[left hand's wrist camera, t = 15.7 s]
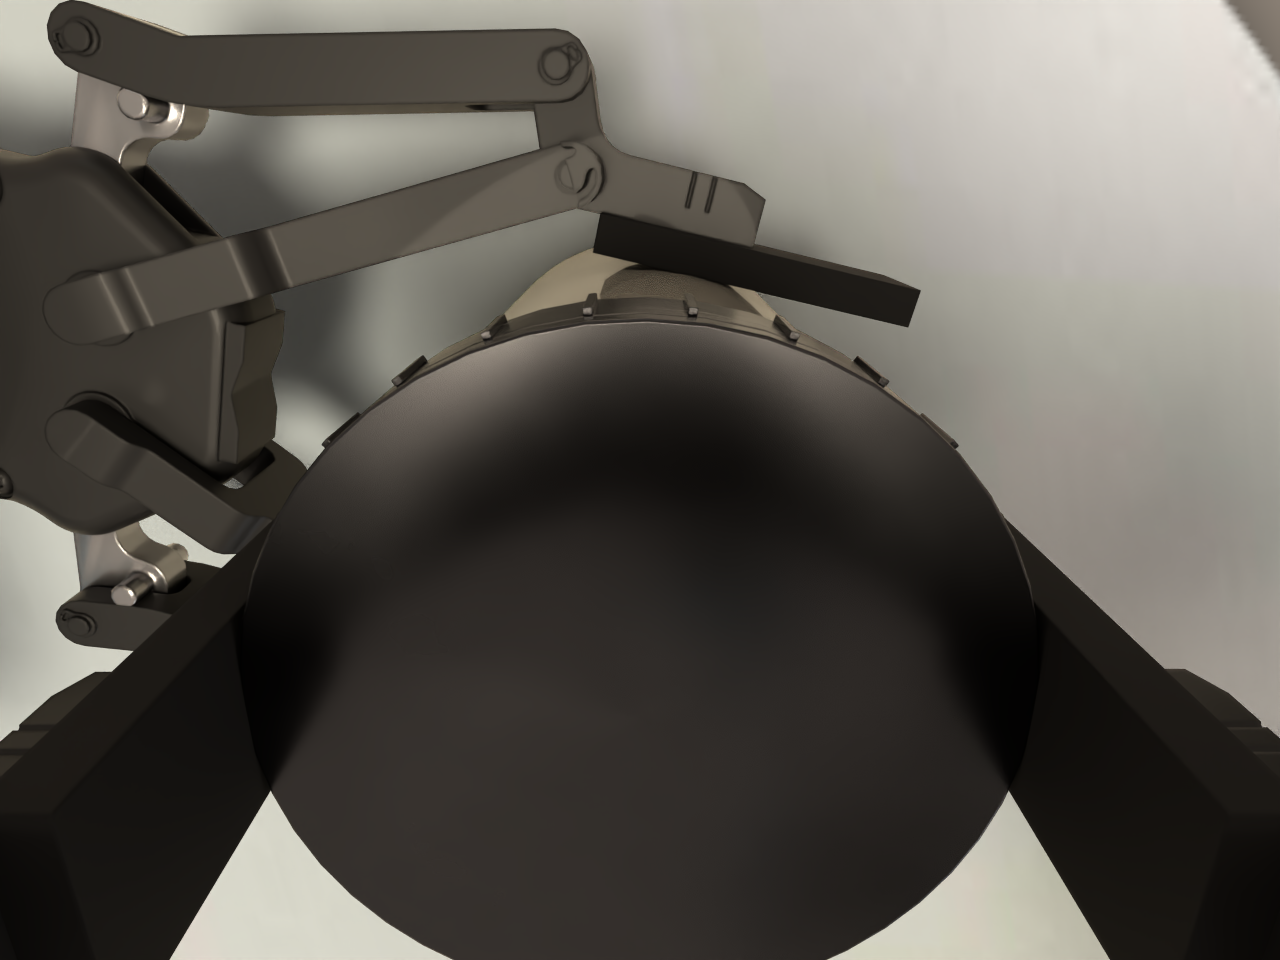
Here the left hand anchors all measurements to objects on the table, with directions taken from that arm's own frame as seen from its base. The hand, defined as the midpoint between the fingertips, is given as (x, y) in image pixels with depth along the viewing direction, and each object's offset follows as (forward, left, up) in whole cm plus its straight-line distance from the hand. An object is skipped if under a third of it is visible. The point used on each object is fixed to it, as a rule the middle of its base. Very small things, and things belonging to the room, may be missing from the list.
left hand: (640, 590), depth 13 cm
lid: (0, 0, +3) cm, 3 cm away
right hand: (-4, -2, -6) cm, 8 cm away
